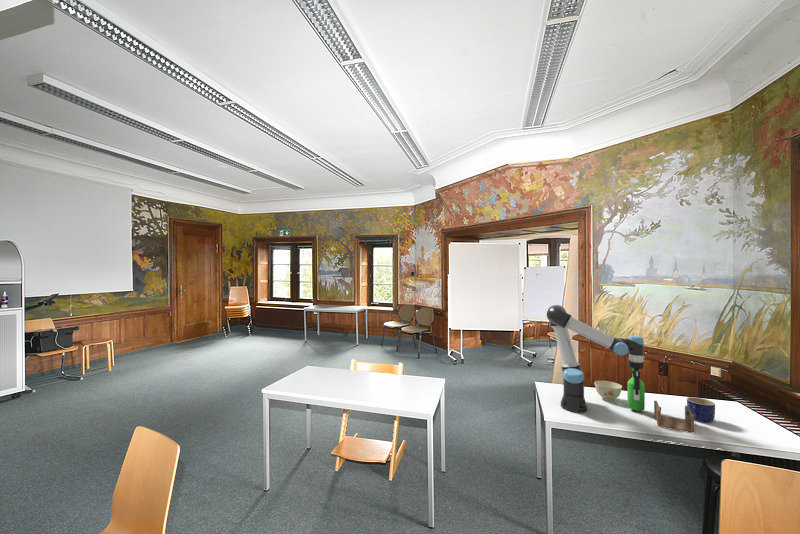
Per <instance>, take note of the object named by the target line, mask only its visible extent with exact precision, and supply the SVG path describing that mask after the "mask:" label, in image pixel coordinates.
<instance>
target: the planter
mask: <svg viewBox="0 0 800 534" xmlns="http://www.w3.org/2000/svg"><path fill="white" fill-rule="evenodd" d="M686 406H688V407H689V409H690V410H691V412H692V413H693V415H694V421H695V422H696V421H697V422H700V423H709V424H710V423H712V422H714V421H715V417H716V403H715V402H714V401H712V400H709V399H706V398H703V397H696V396H695V397H693V396H691V397H689V396H688V397H687V398H686Z"/></svg>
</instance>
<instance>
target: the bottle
mask: <svg viewBox="0 0 800 534" xmlns="http://www.w3.org/2000/svg"><path fill="white" fill-rule="evenodd" d="M632 370H633V371H634V368H631V371H632ZM639 372H640V373H641V369H639ZM631 373H632V372H631ZM631 376H632V377H631V378H629V379H628V381H627V406H626V407H628V408H629V409H631V410H634V411H637V412H641V411H644V410H645V409H646V408H645V405H646V402H645V400H646V399H645V398H646V397H645V391H646V390H645V385H646V384H645V383H644V382H643V380H642V379H641V378H640V390H639V400H634V389H633V388H634V378H633V373H632V375H631Z"/></svg>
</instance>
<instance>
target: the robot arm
mask: <svg viewBox="0 0 800 534" xmlns="http://www.w3.org/2000/svg"><path fill="white" fill-rule="evenodd" d="M546 319H547V320H548V323H549V325H550V327H551V328H552V329H553V331H554V335H555V339H556V343H557V347H558V350H559V354H560V358H561V361H562V363H561V365H560V366H561V368H560V369H561V370H562V377H563V379H562V380H563V384H562V385H563V386H562V387H563V395H562V396H561V397H562V398H561V400H560V407H561V408H562V409H564V410H566V411H568V412H572V413H580V414H581V413H587V411H588V404H587V401H586V399H585V375H584V372H583V370H582V368H581V364H580V362H578V361H577V359H576V355H575V354H576V353H575V351H574V348H573V344H572V341H571V336H570V333H569V330H570V331H572V332H574V333H577V334H579V335H580V336H582V337H584V338H586V339H588V340H590V341H592V342H594V343H596V344H597V345H598V344H599V345H601V346H602V347H604V348H607V349H608V350H610V351H612V352H613V353H615V354H616V355H618V356H625V355H627V354H628V366H629V367H630V369H631V373H633V378H634V388H633V389H634V400H639V390H640V379H641V371H640V372H639V369H640V370H643V369H644V368H645V366H644V365H645V364H644V363H645V362H644V360H645V358H646V357H645V356H644V354H645V353H644V352H645V351H644V350H645V348H644V347H645V344H644V343H645V342H644V338H643V337H642V336H638V335H629V337H628V338H622V337H613V336H611V335H609V334H607V333H605V332H603V331H601V330H599V329H597V328H595V327H593V326H590V325H589V324H587V323H585V322H583V321H580V320H578V319H577V318H574V317H573V315H572V314H570V313H568V312H567V311H566V309H565V308H564V307H563V306H561V305H560V304H553V305H551V306H549V308H547V311H546ZM632 368H634V371H633V370H632Z"/></svg>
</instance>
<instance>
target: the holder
mask: <svg viewBox="0 0 800 534" xmlns="http://www.w3.org/2000/svg"><path fill="white" fill-rule="evenodd" d="M653 405H654V407H653V408H654V412H653V413H654V418H655V421H657V422H656V424H657V427H659V426H660V428H664V427H665V428H664V429H669V428H671V429H670V430H675V429H676V430H675V431H680V430H681V431H680V432H685V431H688V432H687V433H690V432H694V433H695V420H694V415H693V413H692V412H691V410H690V409H689V407H688V406H687V405H684V418H680V417H679V418H678V417H673V416H667V415H662V407H661V406H660V405H659V403H658V401H657V400H654V401H653Z"/></svg>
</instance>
